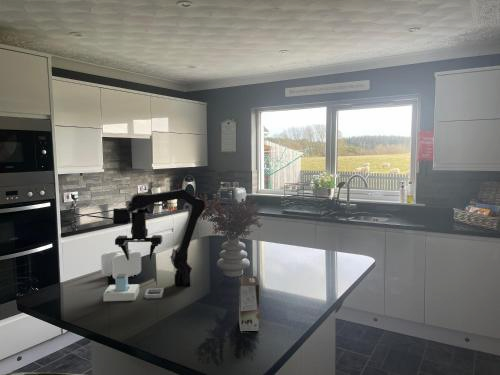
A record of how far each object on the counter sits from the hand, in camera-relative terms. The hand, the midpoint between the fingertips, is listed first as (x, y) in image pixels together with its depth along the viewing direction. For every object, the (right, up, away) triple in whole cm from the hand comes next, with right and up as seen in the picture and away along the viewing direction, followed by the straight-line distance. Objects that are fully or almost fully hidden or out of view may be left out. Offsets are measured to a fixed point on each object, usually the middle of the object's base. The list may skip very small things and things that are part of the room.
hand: (139, 259), depth 164 cm
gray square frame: (+8, -14, -5) cm, 16 cm away
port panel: (-5, -14, -6) cm, 16 cm away
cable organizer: (-14, -11, +19) cm, 26 cm away
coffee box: (+47, -17, -32) cm, 59 cm away
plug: (-5, -14, -6) cm, 16 cm away
